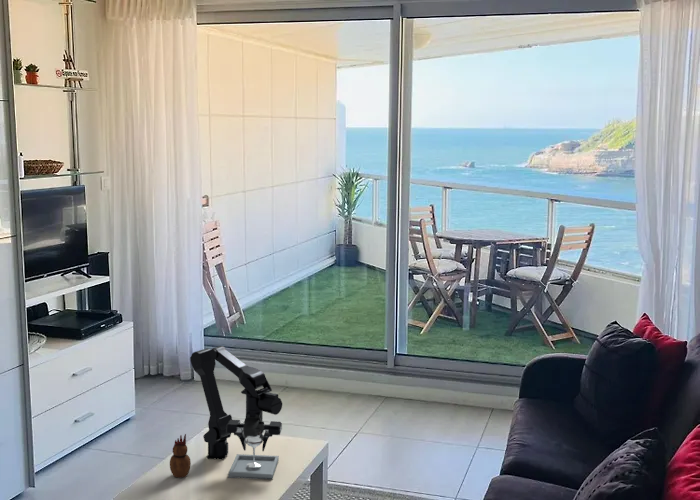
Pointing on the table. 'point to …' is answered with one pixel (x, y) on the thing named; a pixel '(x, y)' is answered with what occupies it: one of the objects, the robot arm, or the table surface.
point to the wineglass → (254, 443)
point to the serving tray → (262, 472)
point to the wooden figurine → (180, 459)
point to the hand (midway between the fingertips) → (254, 450)
